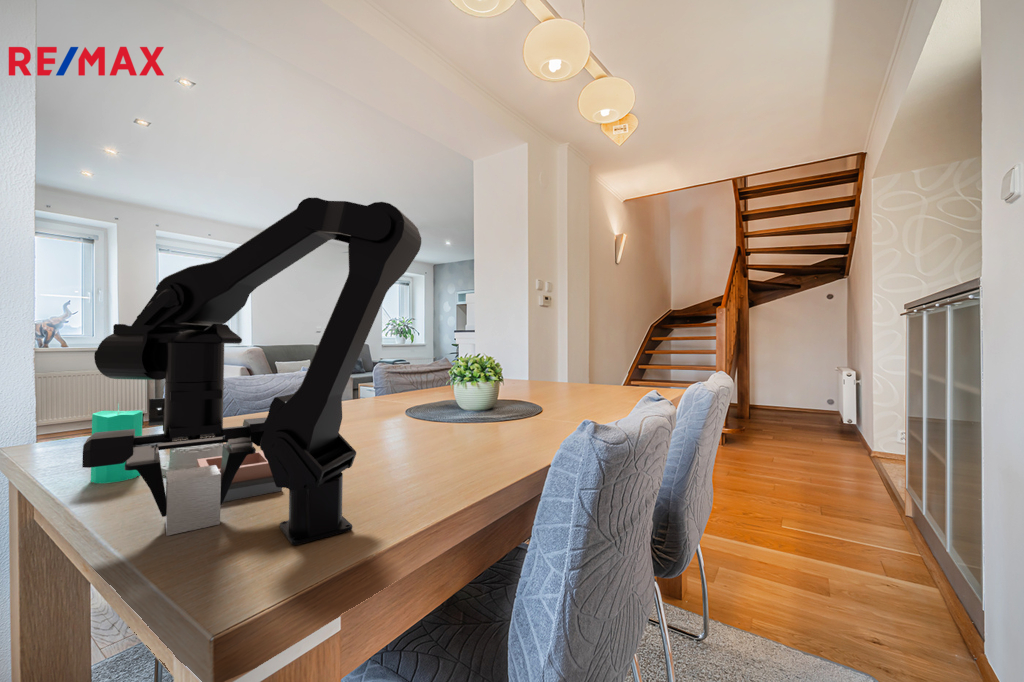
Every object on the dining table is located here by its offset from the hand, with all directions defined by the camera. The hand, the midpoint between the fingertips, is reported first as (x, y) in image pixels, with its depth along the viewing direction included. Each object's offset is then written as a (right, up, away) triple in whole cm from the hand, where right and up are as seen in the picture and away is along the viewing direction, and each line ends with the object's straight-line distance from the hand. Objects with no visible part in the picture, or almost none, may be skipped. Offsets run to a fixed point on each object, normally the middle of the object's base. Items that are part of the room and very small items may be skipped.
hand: (192, 510), depth 51 cm
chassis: (-3, -2, +13) cm, 14 cm away
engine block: (0, -2, 0) cm, 2 cm away
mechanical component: (-16, -2, +22) cm, 28 cm away
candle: (-25, -2, +17) cm, 30 cm away
